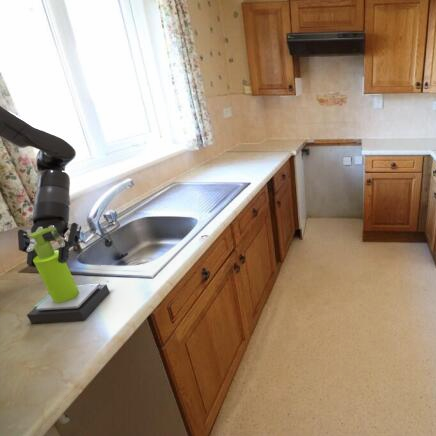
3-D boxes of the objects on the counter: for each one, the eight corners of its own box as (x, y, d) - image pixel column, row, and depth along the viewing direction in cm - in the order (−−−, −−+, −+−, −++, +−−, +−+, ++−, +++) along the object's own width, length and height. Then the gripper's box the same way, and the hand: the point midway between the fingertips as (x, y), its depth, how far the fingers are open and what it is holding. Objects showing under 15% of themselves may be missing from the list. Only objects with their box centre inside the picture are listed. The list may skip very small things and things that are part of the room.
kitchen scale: (29, 323, 86) (23, 311, 84) (61, 295, 97) (56, 284, 95) (84, 320, 86) (78, 308, 85) (109, 292, 97) (105, 281, 96)
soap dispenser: (87, 290, 92) (60, 227, 83) (60, 305, 86) (29, 240, 78) (74, 285, 94) (47, 224, 85) (48, 299, 89) (16, 235, 80)
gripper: (11, 204, 84) (3, 266, 79) (73, 196, 87) (70, 256, 82) (31, 214, 91) (25, 272, 86) (88, 207, 94) (86, 263, 89)
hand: (47, 264), depth 84 cm, fingers open, 6 cm apart
